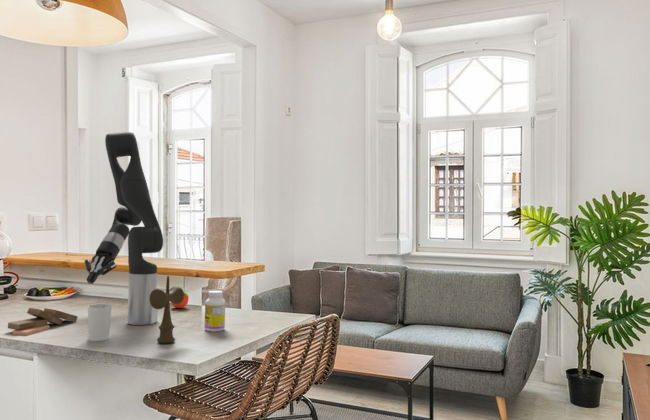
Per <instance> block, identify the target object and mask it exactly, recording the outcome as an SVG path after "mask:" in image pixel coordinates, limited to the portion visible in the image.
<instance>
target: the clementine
mask: <svg viewBox="0 0 650 420" xmlns="http://www.w3.org/2000/svg"><path fill="white" fill-rule="evenodd" d="M183 292H184V299H183V301H182V303H180V304H174V303H171V302H170V305H172V307H174V308H176V309H183V308H185V307H186V306H187V305H188V303H189V299H190V297H189V294H188V293H187V292H186V291H184V290H183Z"/></svg>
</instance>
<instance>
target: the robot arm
mask: <svg viewBox="0 0 650 420" xmlns="http://www.w3.org/2000/svg"><path fill="white" fill-rule="evenodd" d="M104 139H105V141H104V142H105V143H104V144H105V151H106V153H107V159H108V163H109V166H110V170H111V174H112V177H113V182H114V186H115V193H116V201H117V203H118V205H120V207H119V208H116V210H115V212H114V216H113V221H112V225H111V227H110V229H109V230H108V232H107V233H106V235H105V236H104V237H103V239H102V240H101V242H100V243H99V246H98V247H97V249H96V251H95V255H93V256H92V257H91V259H89V260H88V259H85V260H84V265H85V268H86V271H87V273H89V274H88V276H87V278H86V281H87V283H88V284H92V285H93V284H94V283H95V282H96V281H97V279H98V278H99V276H105V275H107V274H108V273H109V272H111V271H113V270H114V269H116V268H117V264H116V262H115V260H116V259H117V257H118V255H119V253H120V252H121V249H122V248H123V246H124V243H125V241H126V240H127V254H128V258H127V261H128V262H127V263H128V286H127V287H128V289H127V291H128V294H127V295H128V296H127V322H126V323H127V324H129V325H132V326H133V325H134V326H146V325H153V324H154V323H157V322H158V315H159V314H158V313H159V309H155V308H153V307H152V306H151V304H150V294H151V292H152V291H153V290H154V289H157V287H158V286H157V285H158V279H157V278H158V274H157V273H158V265H156V263H152V262H149V261H147V260H146V259H144V256H143V254H155V253H160V252H161V251H162V249H163V247H164V235H163V231H162V229H161V227H160V224H159V221H158V218H157V215H156V213H155V210H154V207H153V204H152V200H151V196H150V189H149V187H148V183H147V180H146V176H145V174H144V173H145V172H144V169H143V167H142V162H141V157H140V156H141V155H140V151H139V146H138V142H137V138H136V135H135V133H134V132H132V131H121V132H119V131H118V132H110V133H107V134H106V135H105V138H104ZM121 157H123V158H124V157H130V159H129V163H128V165H127V167H126V169H125V170H124V169H123V167H122V165H120V162H119V161H118V158H121ZM141 223H142V224H143V226H138V225H140V224H141ZM128 226H133V227H131V228H130V227H128ZM129 228H130V229H129Z"/></svg>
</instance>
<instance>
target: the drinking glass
mask: <svg viewBox="0 0 650 420" xmlns="http://www.w3.org/2000/svg"><path fill="white" fill-rule="evenodd" d="M111 317H112V304H109V303H95V304H93V303H92V304H89V305H87V329H88V330H87V332H88V333H87V334H88V335H87V338H88V339H87V340H88V341H90V342H102V341H108V340H109V339H110V332H111V331H110V329H111Z"/></svg>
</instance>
